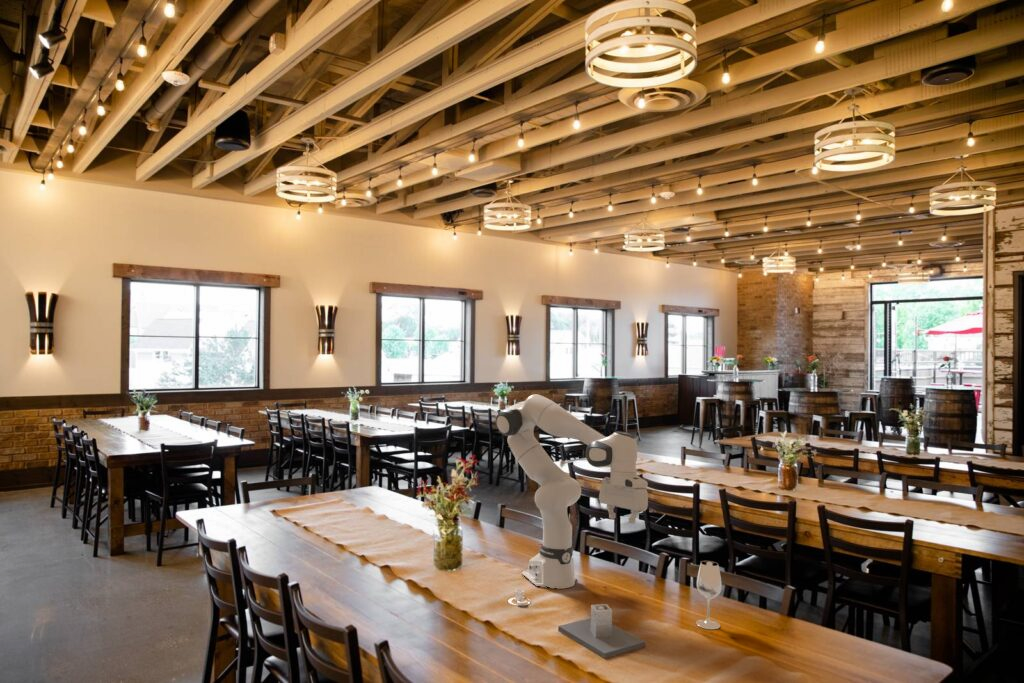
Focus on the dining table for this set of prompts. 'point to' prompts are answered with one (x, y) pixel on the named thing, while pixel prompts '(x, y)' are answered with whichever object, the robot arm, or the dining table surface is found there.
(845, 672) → the dining table surface
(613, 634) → the shaft plate
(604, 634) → the steel sleeve
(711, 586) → the wineglass
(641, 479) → the robot arm
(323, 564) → the dining table surface
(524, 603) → the teacup and saucer
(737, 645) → the dining table surface
